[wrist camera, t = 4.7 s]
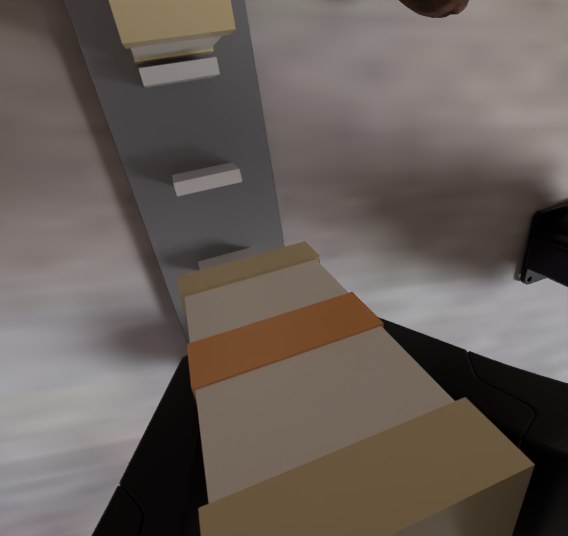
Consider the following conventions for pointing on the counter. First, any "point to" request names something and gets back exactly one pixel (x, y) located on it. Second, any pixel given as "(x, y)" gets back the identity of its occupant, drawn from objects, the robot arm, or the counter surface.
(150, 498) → the robot arm
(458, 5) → the pottery mug
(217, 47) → the block
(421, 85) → the counter surface
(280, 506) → the block
